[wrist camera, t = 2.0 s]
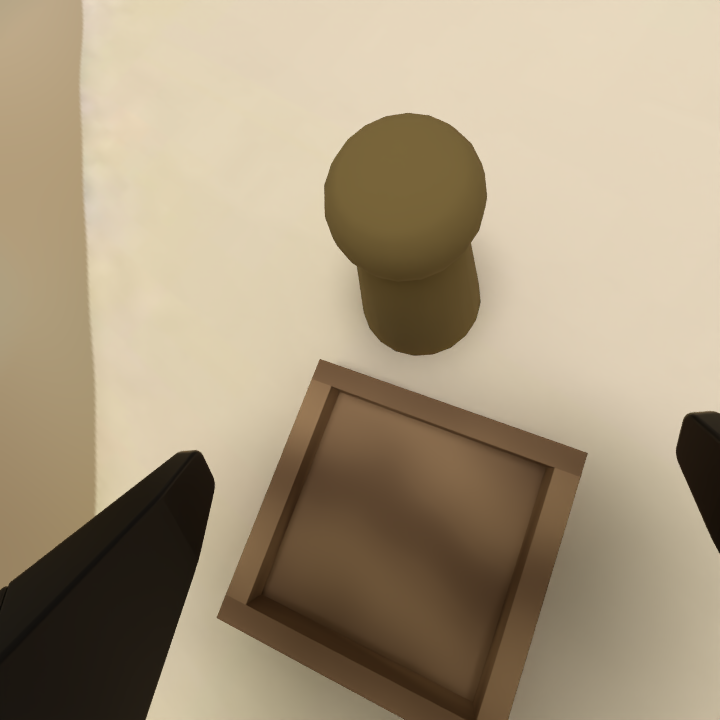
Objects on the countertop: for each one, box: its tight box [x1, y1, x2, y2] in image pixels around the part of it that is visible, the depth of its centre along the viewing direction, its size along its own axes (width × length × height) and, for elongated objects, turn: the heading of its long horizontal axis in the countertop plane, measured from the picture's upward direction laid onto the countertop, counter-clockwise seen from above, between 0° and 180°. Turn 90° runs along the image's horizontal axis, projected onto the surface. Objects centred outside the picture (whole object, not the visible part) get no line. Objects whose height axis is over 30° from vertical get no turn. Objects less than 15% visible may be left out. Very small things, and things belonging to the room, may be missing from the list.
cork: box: [324, 113, 487, 355], centre depth 19 cm, size 6×6×11 cm
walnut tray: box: [217, 359, 588, 720], centre depth 20 cm, size 12×12×2 cm
